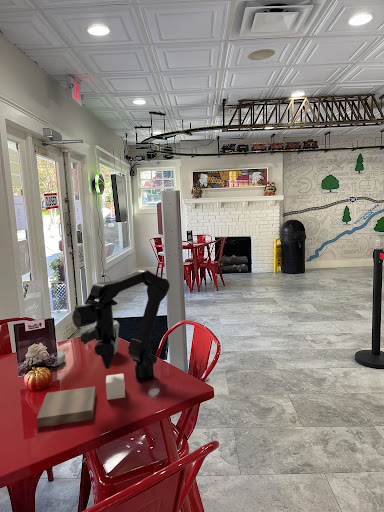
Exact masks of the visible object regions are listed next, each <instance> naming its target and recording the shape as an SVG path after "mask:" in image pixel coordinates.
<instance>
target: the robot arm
mask: <svg viewBox="0 0 384 512" xmlns="http://www.w3.org/2000/svg"><path fill="white" fill-rule="evenodd" d="M140 284H143V285H145V286H146V294H147V301H146V304H145V308H144V311H143V312H144V313H143V315H142V318H141V322H140V323H141V324H140V326H139V329H138V333H137V336H135V337H134V338H130V341H129V345H128V347H127V352H128V355H129V357H130V358H131V359H132V361H133V362H136V363H135V365H134V374H135V379H136V381H137V383H140V382H148V381H153V380H156V377H155V374H154V373H155V372H154V364H156V363H157V361H158V357H157V356H156V355H155V354H154V353H152V351H153V350H152V349H153V344H152V340H151V338H152V337H151V336H152V334H153V330H154V327H155V323H156V319H157V316H158V312H159V309H160V305H161V302H162V301H163V300H164V298H165V297H166V296H167V294H168V293H169V290H170V286H171V285H170V282H169V280H168V279H167V278H164V277H161V276H158V275H156V274H155V273H153V272H151V271H150V270H148V269H147V270H146V269H139V270H137V271H136V272H133V273H131V274H128V275H126V276H122V277H120V278H118V279H115V280H109V281H102V282H96V283H94V284H92V287H91V289H90V293H89V294H88V297H87V299H86V300H85V303H84V305H83V304H81V305H77V306H74V310H73V312H72V316H71V317H72V318H71V319H72V323H73V325H74V326H75V327H76V328H77V329H78V328H82V327H86V326H89V325H93V324H95V325H94V326H93V327H90V328H88V329H87V330H86V329H85V330H84V331H82V332H81V333H80V335H79V338H80V342H82V344H83V345H87V344H88V343H90V342H91V341H94V340H95V341H96V343H95V345H94V354H95V355H97V356H100V357H101V359H102V362H103V365H104V367H105V369H106V370H109V369H110V367H111V365H112V364H111V363H112V360H113V357H114V355H115V354H114V352H115V341H116V336H117V330H116V328H115V327H114V321H115V319H114V316H113V315H114V314H113V306H116V305H118V302H117V301H116V300H115V299H114V298H116V297H117V296H118V295H119V294H120V293H121V292H123V291H126V290H128V289H130V288H132V287H134V286H138V285H140ZM99 340H100V341H99Z"/></svg>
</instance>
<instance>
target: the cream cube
mask: <svg viewBox="0 0 384 512" xmlns="http://www.w3.org/2000/svg"><path fill="white" fill-rule="evenodd" d="M124 375H125V374H124V373H117V374H110V375H109V374H108V375H106V376H105V390H106V399H107V400H115V399H122V398H126V388H125V376H124Z"/></svg>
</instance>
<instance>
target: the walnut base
mask: <svg viewBox="0 0 384 512" xmlns="http://www.w3.org/2000/svg"><path fill="white" fill-rule="evenodd" d="M96 396H97V392H96V386H88V387H80V388H74V389H73V388H72V389H65V390H58V391H51V392H50V391H49V392H46V395H45V397H44V399H43V402H42V404H41V406H40V409H39V412H38V413H37V416H36V423H37V425H36V427H37V428H44V427H45V428H46V427H51V426H57V425H59V426H60V425H63V424H64V425H65V424H71V423H78V422H83V421H90V420H93V419H94V413H95V405H96V398H97V397H96Z"/></svg>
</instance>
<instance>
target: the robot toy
mask: <svg viewBox="0 0 384 512" xmlns="http://www.w3.org/2000/svg"><path fill="white" fill-rule="evenodd" d="M57 351H58V366H59V365H61V364H62V363H64V362H65V360H66V352H65V351H66V349H63V350H57Z"/></svg>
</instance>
